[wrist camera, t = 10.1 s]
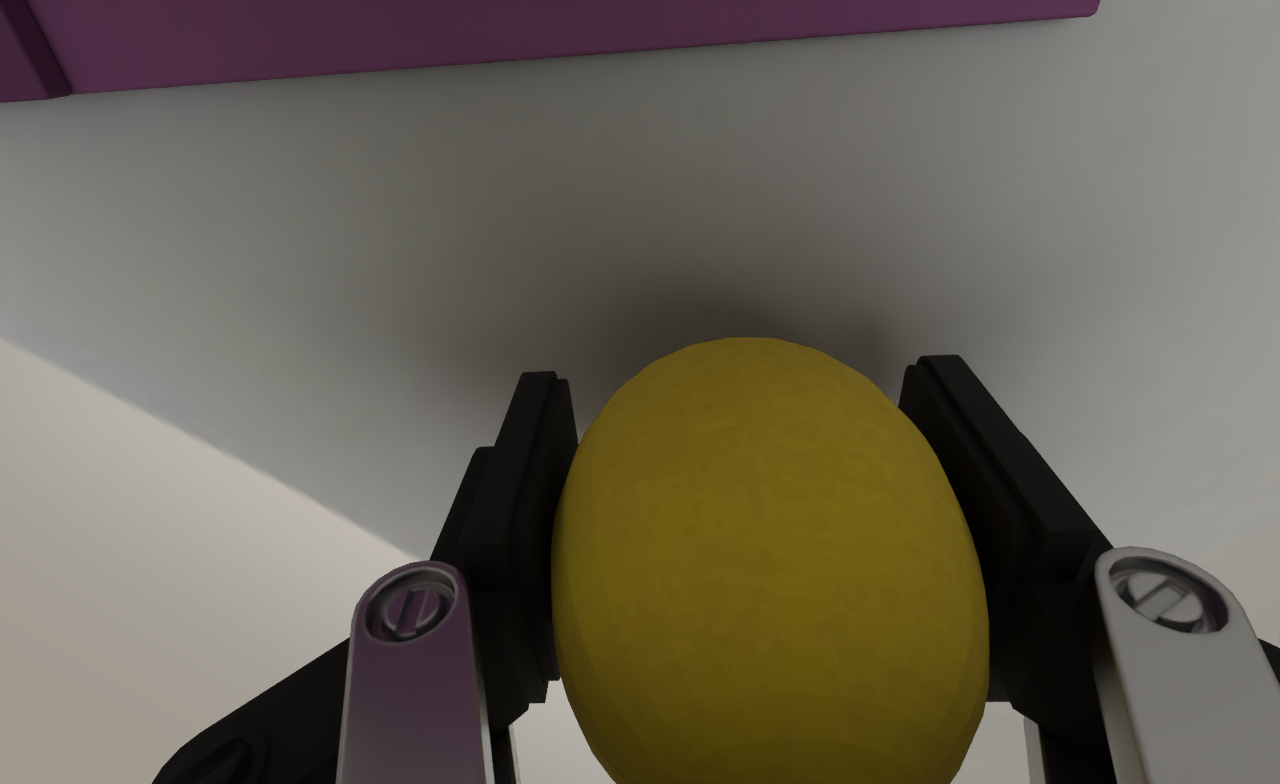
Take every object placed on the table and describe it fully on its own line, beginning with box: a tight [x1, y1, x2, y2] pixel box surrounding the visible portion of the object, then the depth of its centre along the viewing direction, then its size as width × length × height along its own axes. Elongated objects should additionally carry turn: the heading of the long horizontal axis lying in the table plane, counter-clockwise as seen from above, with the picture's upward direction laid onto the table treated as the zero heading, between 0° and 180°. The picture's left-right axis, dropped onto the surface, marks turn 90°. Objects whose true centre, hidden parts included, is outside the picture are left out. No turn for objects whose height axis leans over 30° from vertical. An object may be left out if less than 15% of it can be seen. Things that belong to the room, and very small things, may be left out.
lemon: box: [551, 337, 989, 784], centre depth 9 cm, size 6×6×8 cm
